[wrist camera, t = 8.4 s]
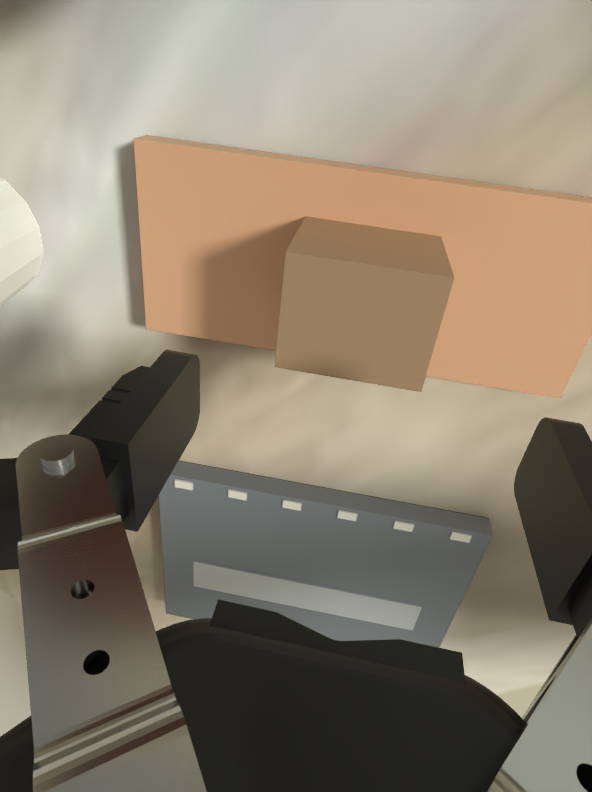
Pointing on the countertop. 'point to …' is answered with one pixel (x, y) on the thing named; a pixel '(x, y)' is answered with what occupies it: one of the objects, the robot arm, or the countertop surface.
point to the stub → (365, 267)
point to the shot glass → (17, 243)
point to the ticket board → (315, 555)
